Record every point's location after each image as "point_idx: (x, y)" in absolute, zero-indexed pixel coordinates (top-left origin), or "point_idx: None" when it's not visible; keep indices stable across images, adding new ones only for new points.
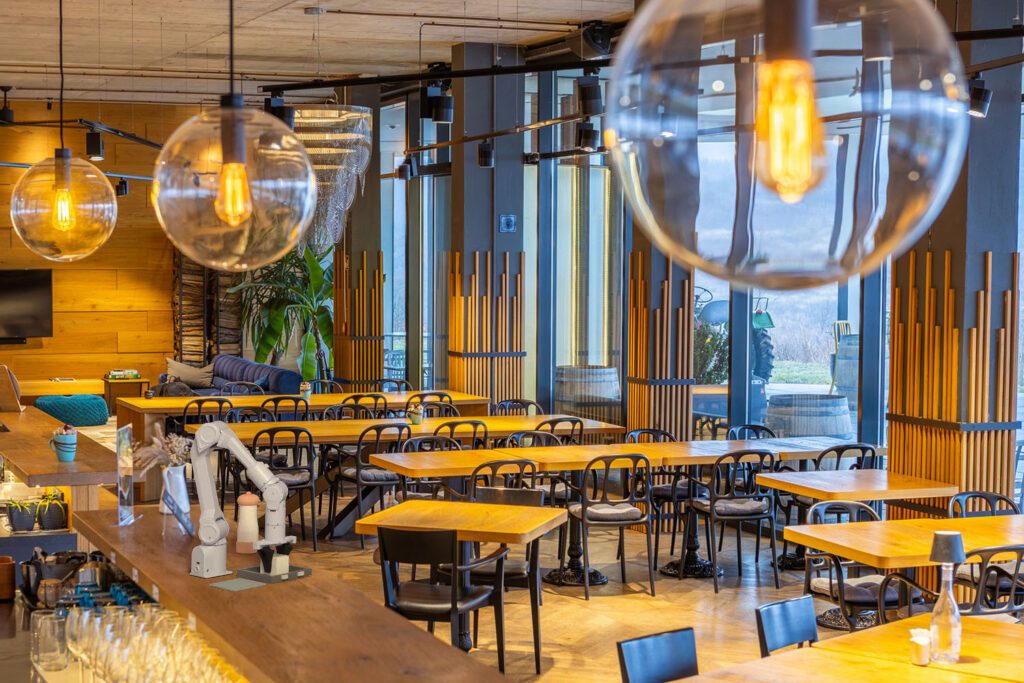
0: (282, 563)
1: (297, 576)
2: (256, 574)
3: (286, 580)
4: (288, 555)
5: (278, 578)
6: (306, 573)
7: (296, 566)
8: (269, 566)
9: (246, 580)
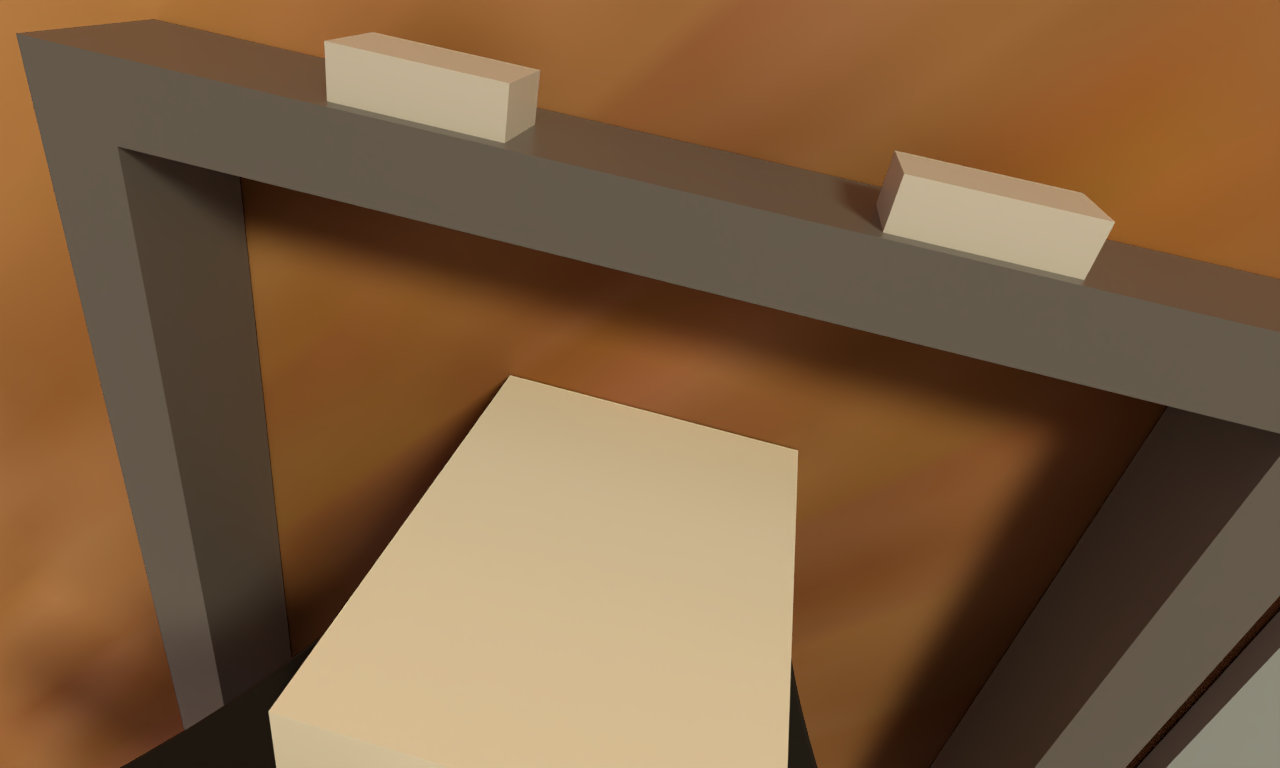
0: (589, 619)
1: (535, 117)
2: (1117, 754)
3: (871, 188)
4: (179, 746)
5: (1161, 277)
6: (250, 58)
7: (162, 460)
8: (813, 757)
9: (1256, 757)
